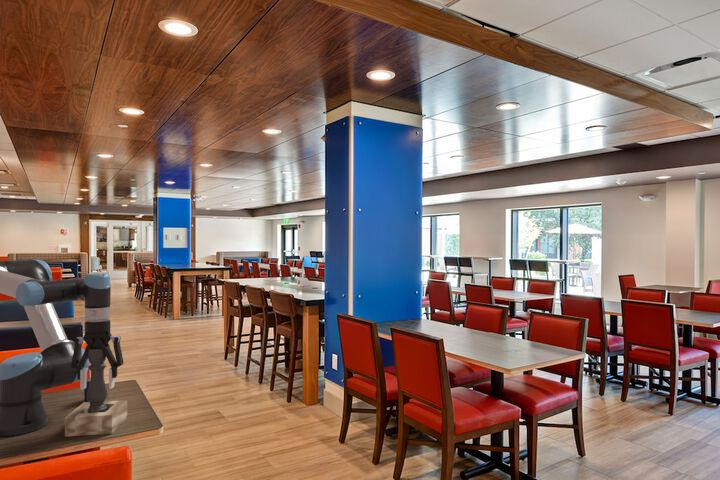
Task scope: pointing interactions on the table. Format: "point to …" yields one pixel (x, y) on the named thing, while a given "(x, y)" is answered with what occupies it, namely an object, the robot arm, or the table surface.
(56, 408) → the table surface
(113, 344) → the robot arm
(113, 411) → the socket block
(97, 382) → the candle holder
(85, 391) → the flask
